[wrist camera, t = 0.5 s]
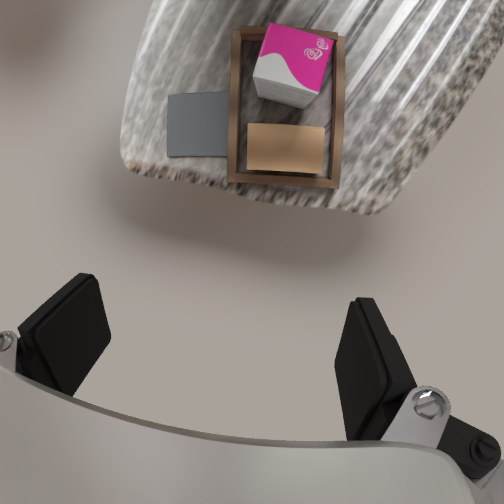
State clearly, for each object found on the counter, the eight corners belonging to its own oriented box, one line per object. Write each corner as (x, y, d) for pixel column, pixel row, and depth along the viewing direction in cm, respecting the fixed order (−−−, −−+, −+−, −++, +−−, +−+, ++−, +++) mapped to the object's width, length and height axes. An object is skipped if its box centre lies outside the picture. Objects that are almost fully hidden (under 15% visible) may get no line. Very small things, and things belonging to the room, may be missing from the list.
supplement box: (305, 111, 31) (318, 97, 20) (256, 97, 31) (247, 77, 20) (317, 69, 29) (335, 39, 18) (269, 55, 29) (266, 20, 18)
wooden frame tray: (235, 34, 28) (231, 26, 25) (341, 41, 27) (346, 34, 24) (229, 179, 35) (225, 183, 32) (335, 186, 34) (340, 190, 31)
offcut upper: (249, 124, 30) (247, 123, 28) (321, 128, 30) (325, 127, 27) (248, 167, 32) (246, 169, 30) (318, 171, 32) (322, 173, 29)
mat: (169, 95, 31) (168, 95, 31) (232, 92, 31) (231, 91, 30) (168, 156, 34) (167, 156, 34) (230, 155, 34) (229, 155, 33)
